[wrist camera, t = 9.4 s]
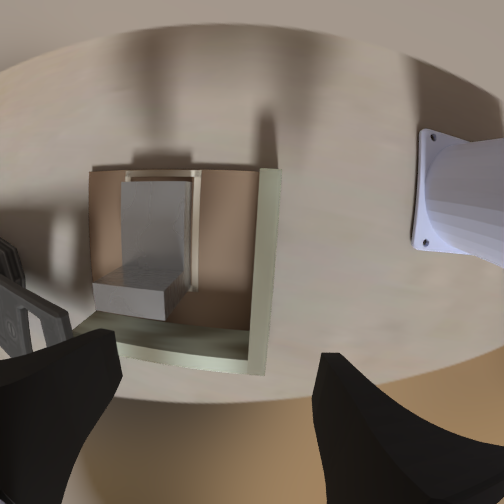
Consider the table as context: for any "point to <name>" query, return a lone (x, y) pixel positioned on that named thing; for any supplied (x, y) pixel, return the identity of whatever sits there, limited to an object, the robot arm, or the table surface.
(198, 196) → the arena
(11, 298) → the zipper pull
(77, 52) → the table surface
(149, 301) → the angle bracket
